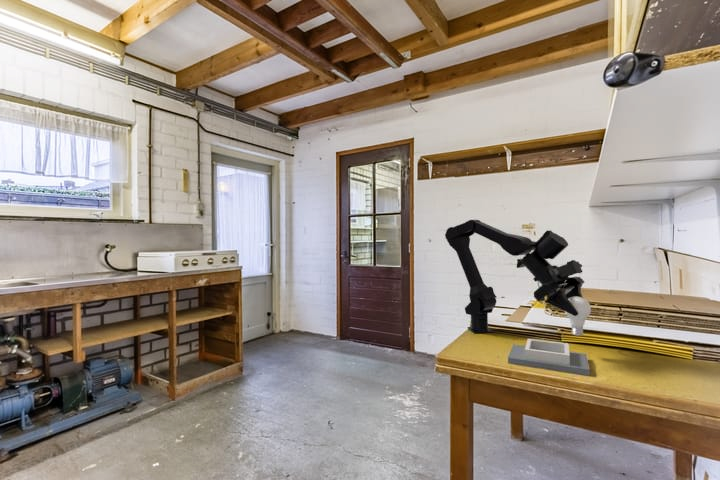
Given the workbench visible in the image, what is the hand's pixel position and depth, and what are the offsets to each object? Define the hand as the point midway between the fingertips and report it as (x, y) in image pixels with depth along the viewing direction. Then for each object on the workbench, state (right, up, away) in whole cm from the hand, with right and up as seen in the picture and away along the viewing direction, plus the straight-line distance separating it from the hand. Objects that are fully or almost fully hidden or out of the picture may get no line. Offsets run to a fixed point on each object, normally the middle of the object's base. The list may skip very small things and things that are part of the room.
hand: (582, 313), depth 92 cm
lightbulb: (-1, -7, +1) cm, 7 cm away
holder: (-11, -13, -2) cm, 16 cm away
